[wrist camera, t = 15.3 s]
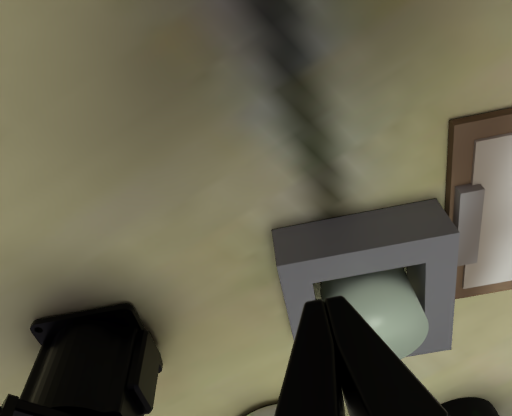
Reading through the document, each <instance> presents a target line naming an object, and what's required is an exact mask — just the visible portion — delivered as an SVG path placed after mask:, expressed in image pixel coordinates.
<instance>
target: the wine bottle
mask: <svg viewBox="0 0 512 416" xmlns="http://www.w3.org/2000/svg"><path fill="white" fill-rule="evenodd" d="M276 407H277V404H275V405H270V406H266V407H263V408H260V409H258V410H256V411H254V412H252V413H250V414H248V415H247V416H274V415H275V411H276Z"/></svg>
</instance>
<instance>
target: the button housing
mask: <svg viewBox="0 0 512 416" xmlns="http://www.w3.org/2000/svg"><path fill="white" fill-rule="evenodd" d="M272 234H273V242H274V250H275V257H276V265H277V270H278V274H279V278H280V283H281V287H282V291H283V295H284V300H285V304H286V308H287V313H288V317H289V321H290V325H291V330H292V334H293V338H294V340H295V336H296V333H297V329H298V325H299V322H300V318H301V314H302V310H303V307H304V304H305V302H307V301H312V300H315V294H314V289H313V283H318V282H323V281H329V280H334V279H340V278H345V277H351V276H356V275H362V274H367V273H373V272H378V271H384V270H390V269H395V268H401V267H406V266H407V277H408V279H409V281H410V284H411V286H412V288H413V290H414V292H415V294H416V296H417V298H418V300H419V303H420V305H421V307H422V309H423V311H424V313H425V315H426V317H427V320H428V324H429V329H428V334H427V336H426V338H425V340H424V341H423V343H422V344H421V345H420V346H419V347H418V348H417V349H416V350H415V351H414V352H412V353H411V354H409V355H408V356H414V355H420V354H426V353H432V352H438V351H444V350H450V349H451V344H452V330H453V317H454V303H455V290H456V277H457V263H458V250H459V236H460V232H459V231H458V229H457V228H456V226H455V225H454V224H453V222H452V221H451V219H450V218H449V216H448V215H447V213H446V212H445V211H444V209H443V208H442V206H441V205H440V203H439V202H438V200H437V199H431V200H426V201H421V202H415V203H410V204H405V205H400V206H394V207H389V208H384V209H379V210H373V211H368V212H363V213H358V214H352V215H347V216H342V217H337V218H331V219H326V220H321V221H316V222H310V223H305V224H300V225H295V226H290V227H284V228H279V229H274V230H272ZM408 356H406V357H408Z"/></svg>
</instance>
